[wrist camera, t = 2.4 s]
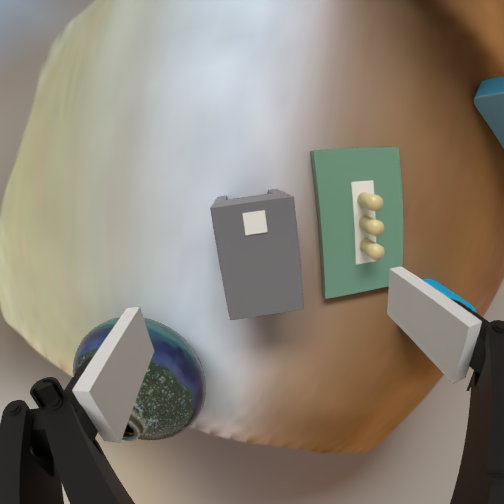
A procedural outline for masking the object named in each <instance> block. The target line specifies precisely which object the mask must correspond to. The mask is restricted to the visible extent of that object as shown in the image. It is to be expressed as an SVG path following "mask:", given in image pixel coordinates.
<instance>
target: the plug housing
mask: <svg viewBox="0 0 504 504" xmlns="http://www.w3.org/2000/svg"><path fill="white" fill-rule="evenodd" d="M210 209H211V216H212V222H213V228H214V234H215V240H216V245H217V251H218V257H219V263H220V268H221V274H222V279H223V285H224V290H225V296H226V301H227V306H228V312H229V317H230V320H235V319H242V318H250V317H256V316H263V315H270V314H276V313H283V312H289V311H295V310H301V309H304V304H303V290H302V277H301V265H300V254H299V243H298V233H297V223H296V213H295V204H294V197H293V196H291V195H289V194H287V193H285V192H282V191H280V190H278V189H271V190H268V194H264V195H257V196H249V197H242V198H236V199H229V200H227V196H221V197H218V198H217V199H216V201H215V202H214V204H213V205H212V207H211V208H210Z"/></svg>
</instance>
